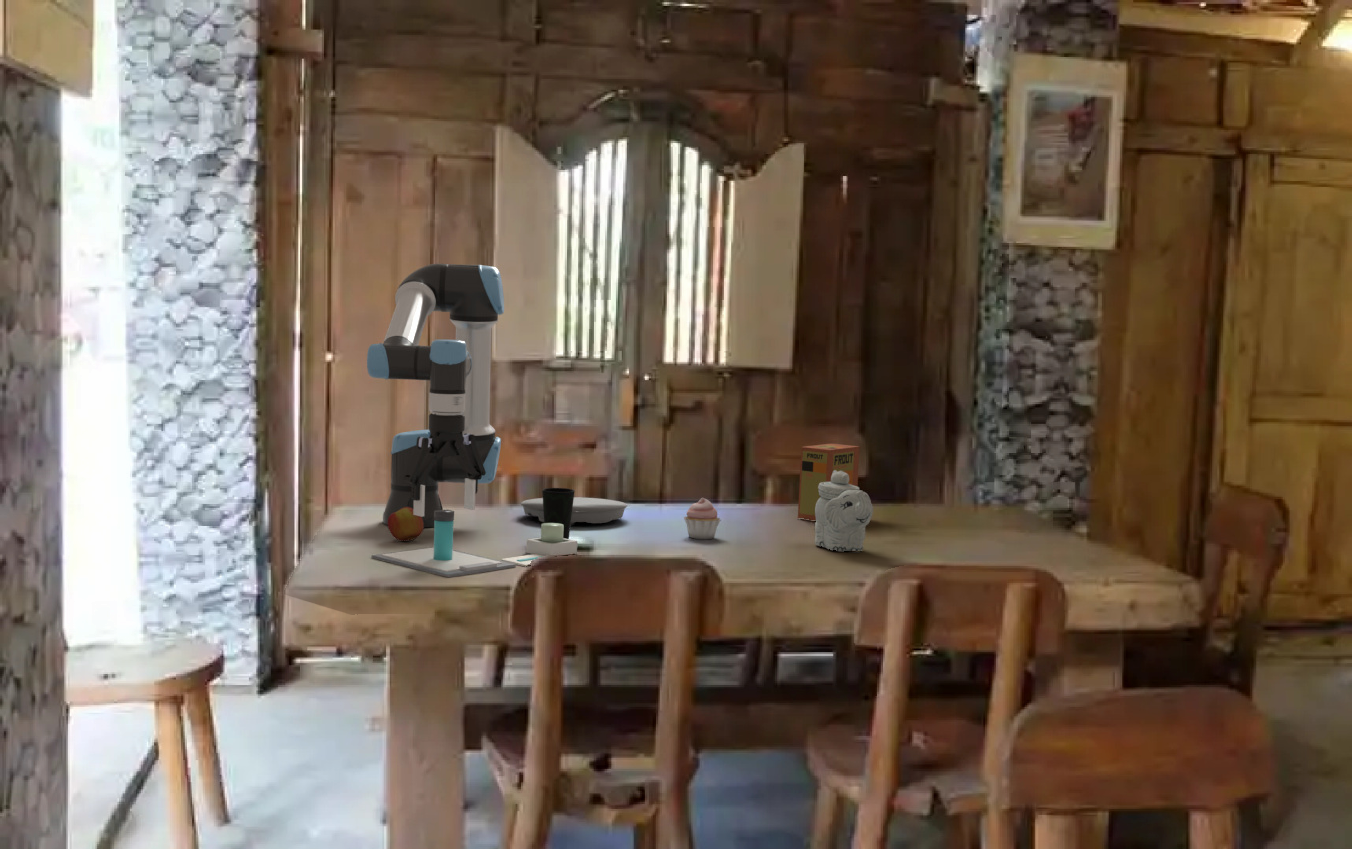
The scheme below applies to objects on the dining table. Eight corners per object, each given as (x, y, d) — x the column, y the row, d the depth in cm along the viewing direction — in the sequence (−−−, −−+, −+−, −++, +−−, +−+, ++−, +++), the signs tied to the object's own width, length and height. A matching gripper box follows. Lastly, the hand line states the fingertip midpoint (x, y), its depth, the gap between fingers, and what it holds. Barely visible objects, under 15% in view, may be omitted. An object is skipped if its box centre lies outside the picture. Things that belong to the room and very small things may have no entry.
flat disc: (647, 520, 353) (648, 504, 352) (585, 532, 329) (585, 514, 329) (563, 510, 368) (563, 494, 367) (497, 521, 344) (498, 504, 344)
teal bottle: (428, 558, 283) (430, 510, 282) (444, 556, 286) (445, 509, 285) (441, 561, 280) (442, 513, 279) (456, 559, 283) (458, 511, 282)
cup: (567, 543, 312) (569, 493, 311) (536, 541, 313) (538, 490, 312) (576, 538, 319) (578, 489, 318) (546, 536, 321) (547, 487, 320)
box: (827, 513, 378) (831, 443, 377) (855, 517, 373) (859, 446, 372) (797, 519, 365) (801, 446, 363) (826, 523, 360) (830, 449, 358)
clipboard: (371, 557, 285) (371, 551, 285) (438, 548, 299) (438, 543, 298) (448, 577, 268) (448, 570, 268) (515, 566, 281) (515, 560, 281)
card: (500, 560, 288) (500, 558, 288) (535, 555, 295) (535, 553, 295) (525, 566, 282) (525, 563, 282) (560, 561, 290) (560, 558, 290)
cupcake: (674, 536, 328) (676, 496, 328) (699, 533, 335) (701, 493, 334) (702, 542, 322) (704, 501, 321) (727, 538, 329) (729, 498, 328)
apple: (409, 537, 312) (410, 503, 311) (429, 542, 306) (429, 508, 306) (381, 540, 307) (382, 505, 306) (400, 545, 301) (401, 510, 300)
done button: (536, 541, 298) (536, 524, 298) (552, 538, 302) (552, 522, 302) (551, 544, 295) (552, 527, 295) (567, 541, 299) (568, 525, 298)
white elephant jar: (867, 558, 309) (871, 478, 308) (803, 552, 314) (807, 473, 312) (878, 547, 325) (882, 470, 323) (817, 541, 329) (821, 466, 328)
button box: (526, 552, 298) (526, 539, 298) (552, 548, 304) (552, 535, 304) (550, 558, 293) (551, 544, 293) (576, 554, 299) (577, 540, 299)
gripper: (410, 417, 269) (407, 521, 271) (503, 412, 287) (500, 508, 290) (387, 414, 274) (385, 515, 276) (481, 408, 292) (478, 503, 295)
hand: (444, 512), depth 283 cm, fingers open, 13 cm apart
